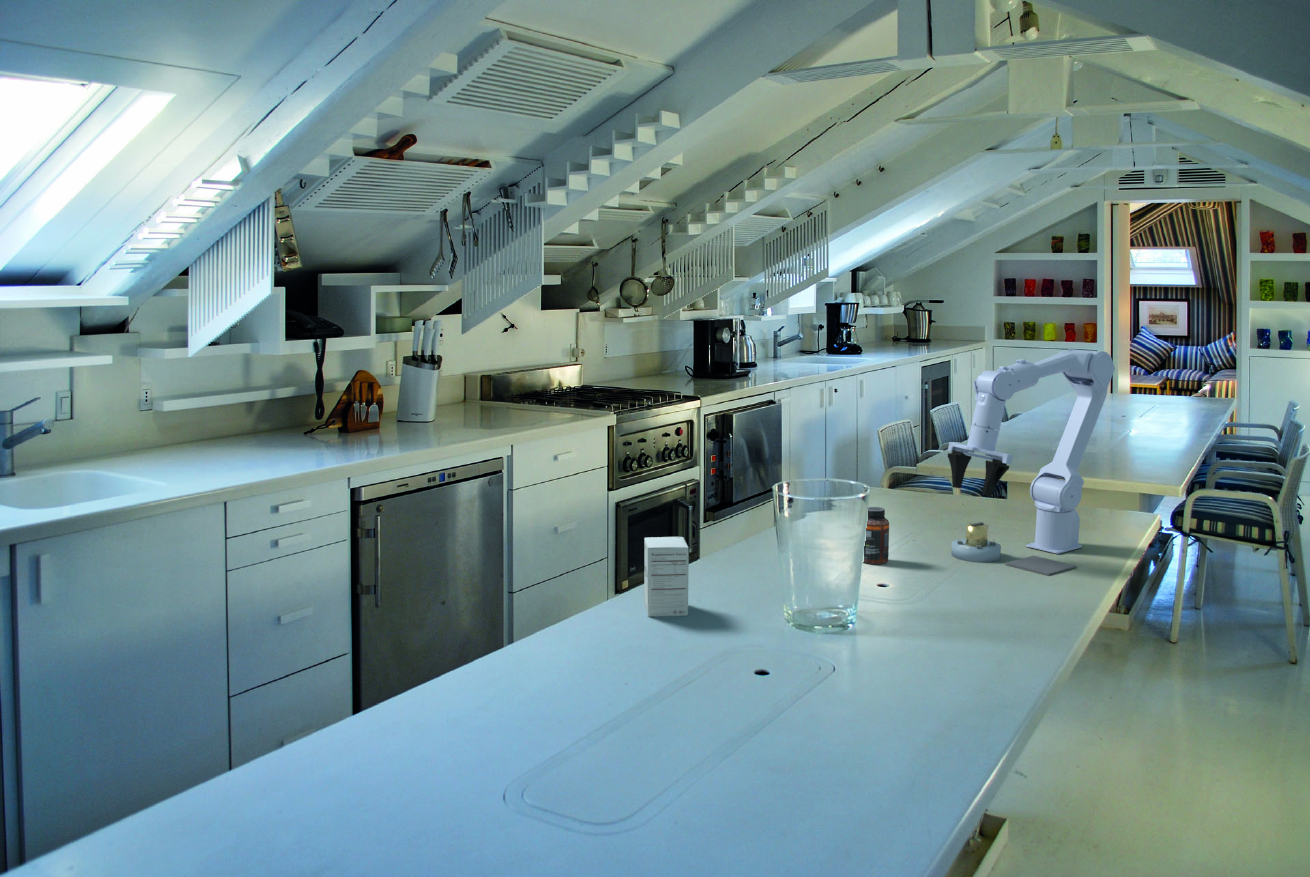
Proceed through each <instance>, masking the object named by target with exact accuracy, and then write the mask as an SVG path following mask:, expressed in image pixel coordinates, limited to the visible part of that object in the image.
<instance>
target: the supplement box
mask: <svg viewBox="0 0 1310 877" xmlns="http://www.w3.org/2000/svg"><path fill="white" fill-rule="evenodd" d="M643 539H644V543H643V544H644V570H643V571H644V573H643V574H644V575H643V576H644V577H643V578H644V580H643V581H644V589H643V590H644V592H643V594H644V596H643V597H644V600H643V602H644V606H645V609H646V613H647V617H656V618H657V617H686V616H689V568H690V566H689V558H690V557H689V546H688V544H687V542H686V540H685V537H684V536H661V537H659V536H657V537H656V536H655V537H653V536H651V537H644V538H643Z"/></svg>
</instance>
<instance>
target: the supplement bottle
mask: <svg viewBox="0 0 1310 877" xmlns="http://www.w3.org/2000/svg"><path fill="white" fill-rule="evenodd" d="M867 508H868V507H867ZM885 513H886V510H885V508H884V507H880V506H869V508H868V521H867V528H866V541H865V546H864V562H863V563H864V564H867V565H868V564H870V565H885V563H888V561H889V555H890V554H889V547H890V545H889V544H890V522H889V519H887V518H886V516H885V515H886V514H885Z"/></svg>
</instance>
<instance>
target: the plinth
mask: <svg viewBox="0 0 1310 877" xmlns="http://www.w3.org/2000/svg"><path fill="white" fill-rule="evenodd" d="M965 541H966V538H960V539H955V540H953V541H952V542H951V556H952V557H953V558H955V559H958V560H960V561H961V560H962V561H966V562H975V563H991V562H996V561H1000V559H1001V549H1002V546H1001V544H1000V543H999V542H998V543H997V542H996V541H992V540H988V542H987V546H986V547H982V546H981V545H976V547H972V546H968V545H966V544H965Z"/></svg>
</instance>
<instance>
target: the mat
mask: <svg viewBox="0 0 1310 877" xmlns="http://www.w3.org/2000/svg"><path fill="white" fill-rule="evenodd" d="M1004 565H1005V566H1009V567H1013V568H1015V569H1016V568H1017V569H1019V570H1020V569H1021V570H1024V571H1028V572H1032V573H1036V574H1040V575H1043V576H1048V577H1049V576H1052V575H1057V574H1060V573H1063V572H1066V571H1070V570H1073V569H1076V568H1077V565H1075V564H1071V563H1067V562H1062V561H1058V560H1054V559H1050V558H1046V557H1041V556H1037V555H1030V556H1027V557H1023V558H1019V559H1015V560H1011V561H1008V562H1005V564H1004Z"/></svg>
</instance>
